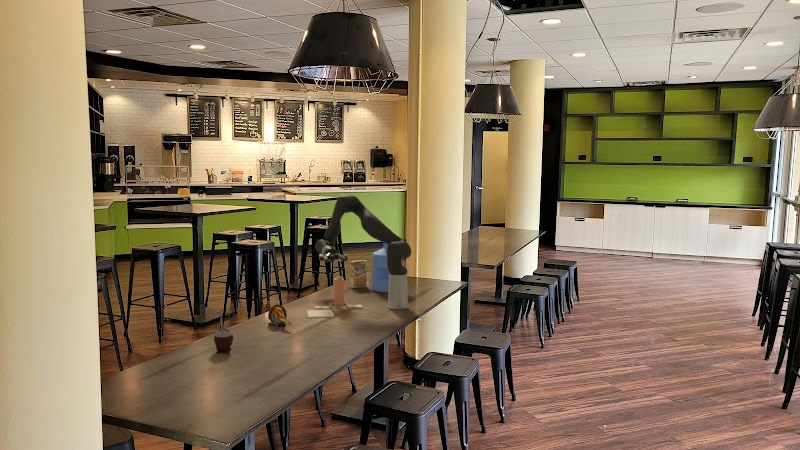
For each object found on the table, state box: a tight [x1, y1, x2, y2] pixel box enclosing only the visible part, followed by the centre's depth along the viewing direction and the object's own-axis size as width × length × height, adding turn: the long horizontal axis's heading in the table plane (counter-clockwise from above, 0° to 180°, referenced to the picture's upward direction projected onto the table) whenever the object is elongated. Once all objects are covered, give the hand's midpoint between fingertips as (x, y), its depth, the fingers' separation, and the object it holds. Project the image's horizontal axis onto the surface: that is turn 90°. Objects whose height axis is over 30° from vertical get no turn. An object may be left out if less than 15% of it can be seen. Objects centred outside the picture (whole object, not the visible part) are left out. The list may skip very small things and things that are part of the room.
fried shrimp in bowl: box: [267, 303, 293, 327], centre depth 278 cm, size 9×11×18 cm
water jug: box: [371, 243, 389, 294], centre depth 353 cm, size 16×16×28 cm
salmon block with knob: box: [333, 275, 345, 306], centre depth 309 cm, size 4×4×16 cm
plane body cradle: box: [314, 301, 364, 312], centre depth 310 cm, size 23×9×2 cm, turn 102°
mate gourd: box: [213, 316, 234, 354], centre depth 239 cm, size 8×8×15 cm
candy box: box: [349, 259, 368, 289], centre depth 360 cm, size 9×4×15 cm, turn 118°
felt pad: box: [306, 309, 335, 319], centre depth 298 cm, size 12×12×1 cm
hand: (335, 260), depth 317 cm, fingers open, 8 cm apart
